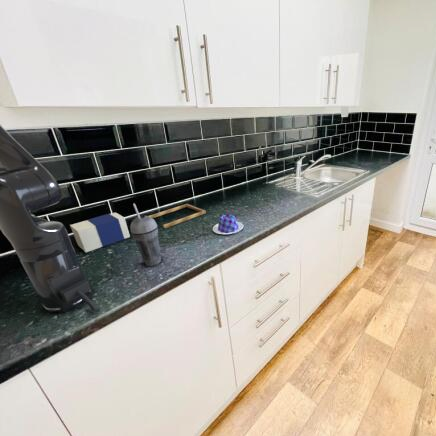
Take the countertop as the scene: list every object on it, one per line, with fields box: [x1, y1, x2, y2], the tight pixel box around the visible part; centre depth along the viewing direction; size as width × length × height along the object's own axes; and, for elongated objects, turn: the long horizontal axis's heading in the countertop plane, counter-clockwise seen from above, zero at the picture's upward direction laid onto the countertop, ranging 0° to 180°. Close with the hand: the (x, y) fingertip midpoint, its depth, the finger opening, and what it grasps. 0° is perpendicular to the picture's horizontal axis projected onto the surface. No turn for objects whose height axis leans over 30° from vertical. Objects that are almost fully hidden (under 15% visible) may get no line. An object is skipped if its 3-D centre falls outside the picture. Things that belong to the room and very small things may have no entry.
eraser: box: [69, 212, 131, 253], centre depth 92 cm, size 14×8×8 cm, turn 143°
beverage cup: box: [130, 203, 162, 267], centre depth 77 cm, size 7×7×20 cm
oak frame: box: [148, 203, 207, 229], centre depth 113 cm, size 20×15×1 cm
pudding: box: [212, 213, 245, 235], centre depth 101 cm, size 12×12×5 cm
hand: (48, 224), depth 79 cm, fingers closed
